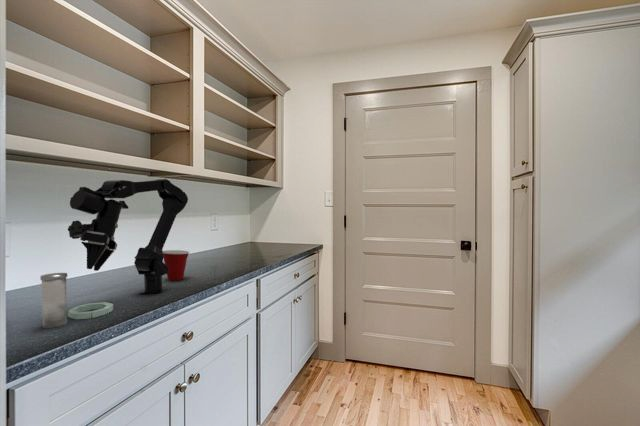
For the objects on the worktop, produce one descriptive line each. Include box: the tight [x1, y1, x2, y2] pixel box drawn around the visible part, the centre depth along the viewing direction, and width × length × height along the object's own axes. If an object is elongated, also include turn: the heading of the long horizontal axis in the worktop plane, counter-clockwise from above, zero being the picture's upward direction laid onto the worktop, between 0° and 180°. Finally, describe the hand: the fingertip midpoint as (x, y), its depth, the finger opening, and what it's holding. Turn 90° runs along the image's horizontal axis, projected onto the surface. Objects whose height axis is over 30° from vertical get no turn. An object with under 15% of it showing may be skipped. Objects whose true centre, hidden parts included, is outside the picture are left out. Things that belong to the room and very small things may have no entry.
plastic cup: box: [163, 249, 191, 282], centre depth 135 cm, size 11×11×12 cm
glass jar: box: [39, 272, 68, 329], centre depth 85 cm, size 5×5×13 cm
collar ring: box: [67, 301, 114, 320], centre depth 94 cm, size 10×10×2 cm
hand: (92, 269), depth 96 cm, fingers open, 9 cm apart
